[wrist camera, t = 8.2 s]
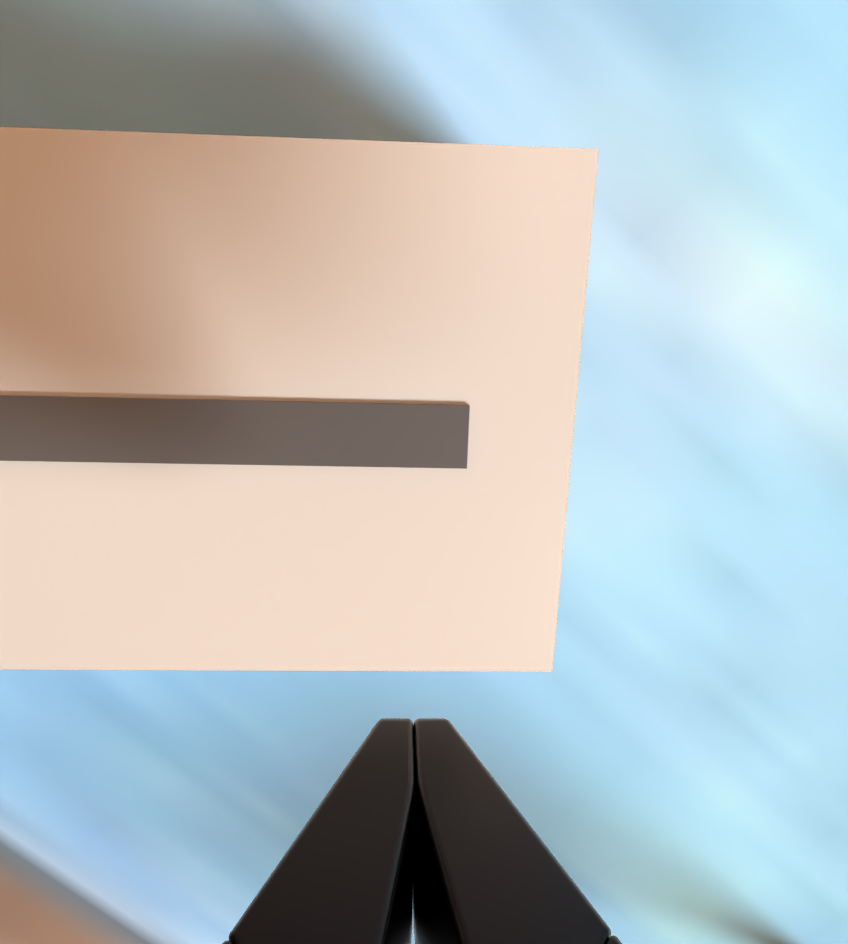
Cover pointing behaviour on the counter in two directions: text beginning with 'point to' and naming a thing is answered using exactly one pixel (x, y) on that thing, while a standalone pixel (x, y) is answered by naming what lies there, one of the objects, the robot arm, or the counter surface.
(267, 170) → the board
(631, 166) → the counter surface
